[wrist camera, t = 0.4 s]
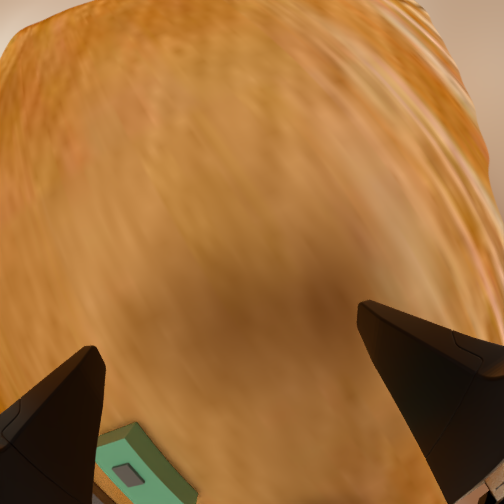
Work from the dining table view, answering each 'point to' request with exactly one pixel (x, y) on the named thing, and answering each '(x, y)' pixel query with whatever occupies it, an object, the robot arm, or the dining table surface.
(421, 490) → the dining table surface
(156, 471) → the board
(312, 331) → the dining table surface
